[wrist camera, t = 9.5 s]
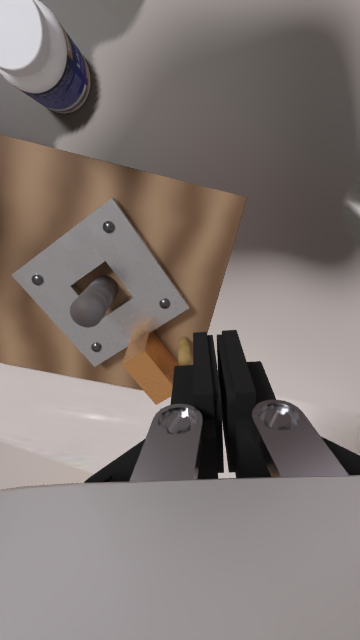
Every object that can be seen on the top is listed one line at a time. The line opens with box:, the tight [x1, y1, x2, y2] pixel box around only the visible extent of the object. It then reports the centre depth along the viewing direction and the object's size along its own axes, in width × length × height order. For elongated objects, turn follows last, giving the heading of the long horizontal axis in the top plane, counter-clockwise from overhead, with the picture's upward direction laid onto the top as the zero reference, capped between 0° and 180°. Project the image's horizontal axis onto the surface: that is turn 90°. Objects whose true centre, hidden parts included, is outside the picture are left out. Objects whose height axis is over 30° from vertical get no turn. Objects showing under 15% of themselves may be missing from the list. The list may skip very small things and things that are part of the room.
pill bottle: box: [0, 0, 90, 113], centre depth 24 cm, size 6×6×10 cm
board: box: [0, 135, 247, 390], centre depth 33 cm, size 26×26×9 cm
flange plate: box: [12, 198, 189, 405], centre depth 33 cm, size 20×14×6 cm
